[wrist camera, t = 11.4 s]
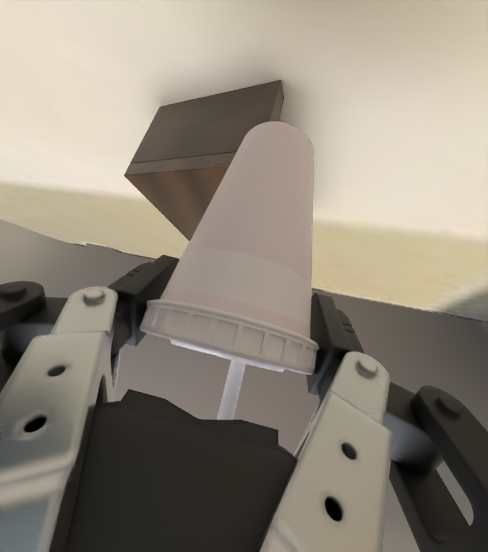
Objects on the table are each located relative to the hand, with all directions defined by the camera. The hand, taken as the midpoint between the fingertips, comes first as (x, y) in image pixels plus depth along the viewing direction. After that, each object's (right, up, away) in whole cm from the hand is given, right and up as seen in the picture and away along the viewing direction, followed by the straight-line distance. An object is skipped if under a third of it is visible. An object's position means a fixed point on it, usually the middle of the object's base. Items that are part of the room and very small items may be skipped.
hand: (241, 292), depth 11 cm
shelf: (-1, +16, +19) cm, 25 cm away
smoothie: (+2, +7, +1) cm, 7 cm away
